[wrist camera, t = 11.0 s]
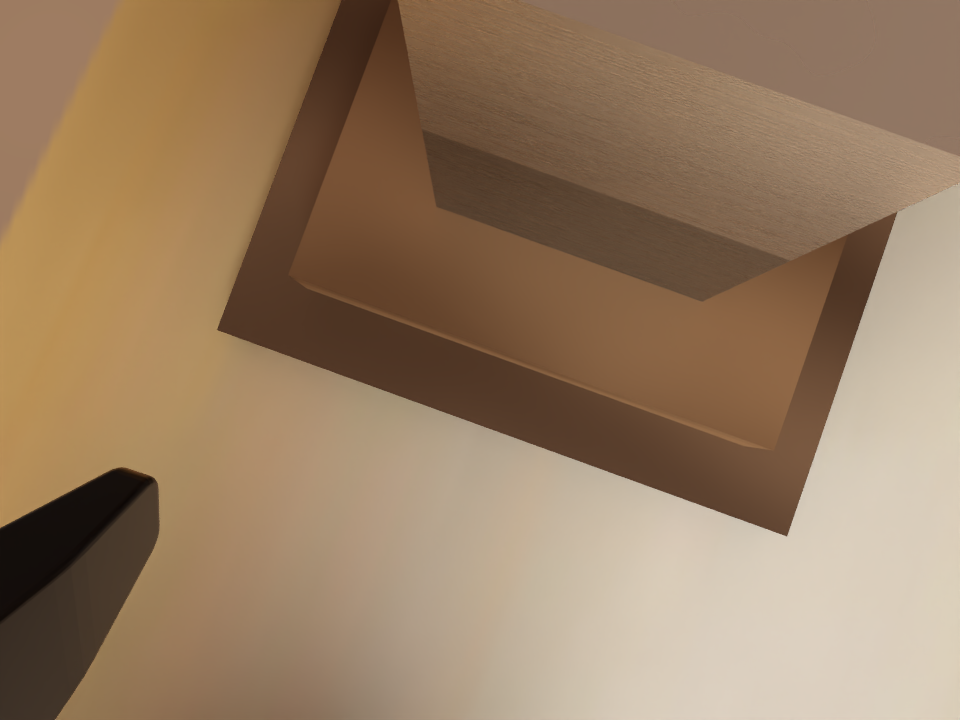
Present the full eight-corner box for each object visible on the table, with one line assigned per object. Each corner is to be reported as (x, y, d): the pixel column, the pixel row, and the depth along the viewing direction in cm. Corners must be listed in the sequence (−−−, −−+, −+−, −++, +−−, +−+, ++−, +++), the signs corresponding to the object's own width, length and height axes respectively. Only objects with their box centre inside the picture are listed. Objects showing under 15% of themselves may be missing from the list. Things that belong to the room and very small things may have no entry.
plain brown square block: (701, 301, 18) (991, 168, 8) (435, 206, 18) (388, -46, 8) (792, 40, 18) (1183, -407, 8) (530, -52, 18) (599, -609, 8)
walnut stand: (771, 530, 21) (822, 551, 18) (229, 333, 21) (188, 321, 18) (953, -2, 21) (1031, -69, 18) (426, -189, 21) (418, -286, 18)
